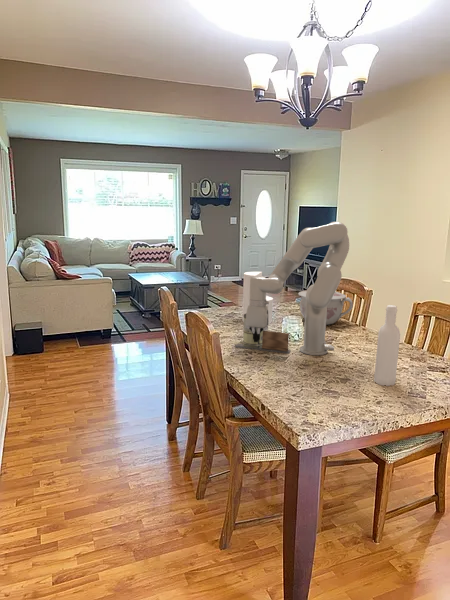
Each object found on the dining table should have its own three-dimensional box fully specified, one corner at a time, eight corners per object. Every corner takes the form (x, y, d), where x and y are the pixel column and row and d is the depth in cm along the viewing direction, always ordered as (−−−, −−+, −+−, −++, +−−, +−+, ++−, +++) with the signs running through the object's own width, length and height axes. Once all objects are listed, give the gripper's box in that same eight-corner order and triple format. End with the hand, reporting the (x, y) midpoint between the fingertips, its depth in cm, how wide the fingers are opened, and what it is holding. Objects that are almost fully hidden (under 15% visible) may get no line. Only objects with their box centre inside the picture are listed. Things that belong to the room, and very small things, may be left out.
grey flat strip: (290, 351, 207) (290, 349, 207) (288, 353, 204) (289, 352, 204) (237, 345, 215) (237, 343, 215) (235, 347, 212) (235, 345, 212)
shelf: (288, 349, 207) (289, 332, 205) (287, 351, 204) (288, 334, 203) (263, 346, 211) (263, 330, 209) (261, 348, 208) (262, 331, 206)
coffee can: (243, 339, 224) (244, 312, 222) (264, 340, 224) (265, 313, 221) (242, 345, 214) (242, 317, 212) (263, 346, 213) (264, 317, 211)
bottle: (378, 376, 178) (385, 302, 172) (398, 381, 173) (406, 305, 167) (370, 382, 172) (377, 306, 166) (391, 387, 167) (399, 309, 161)
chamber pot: (287, 319, 269) (289, 284, 265) (324, 315, 280) (326, 282, 276) (315, 330, 244) (317, 293, 240) (355, 326, 255) (357, 290, 251)
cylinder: (239, 323, 256) (240, 274, 251) (246, 316, 272) (247, 270, 267) (268, 326, 251) (270, 276, 246) (274, 319, 268) (276, 272, 262)
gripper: (275, 302, 207) (273, 340, 211) (244, 300, 212) (243, 337, 216) (271, 305, 200) (270, 345, 204) (239, 303, 205) (238, 341, 209)
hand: (256, 341), depth 210 cm, fingers closed
